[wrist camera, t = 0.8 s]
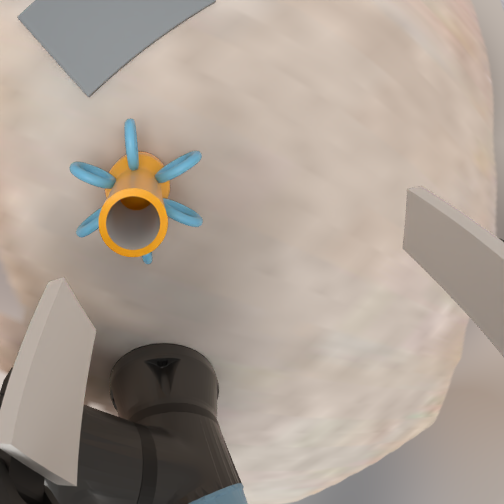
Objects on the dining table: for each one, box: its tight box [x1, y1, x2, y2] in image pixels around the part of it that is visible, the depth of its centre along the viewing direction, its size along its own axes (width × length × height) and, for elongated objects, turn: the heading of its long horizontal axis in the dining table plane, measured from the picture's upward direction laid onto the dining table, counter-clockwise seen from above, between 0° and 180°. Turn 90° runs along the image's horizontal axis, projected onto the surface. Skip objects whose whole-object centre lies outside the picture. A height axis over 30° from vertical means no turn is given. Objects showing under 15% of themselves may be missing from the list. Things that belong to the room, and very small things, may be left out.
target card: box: [17, 0, 216, 97], centre depth 21 cm, size 16×14×1 cm
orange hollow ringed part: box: [70, 119, 203, 264], centre depth 23 cm, size 12×10×15 cm
